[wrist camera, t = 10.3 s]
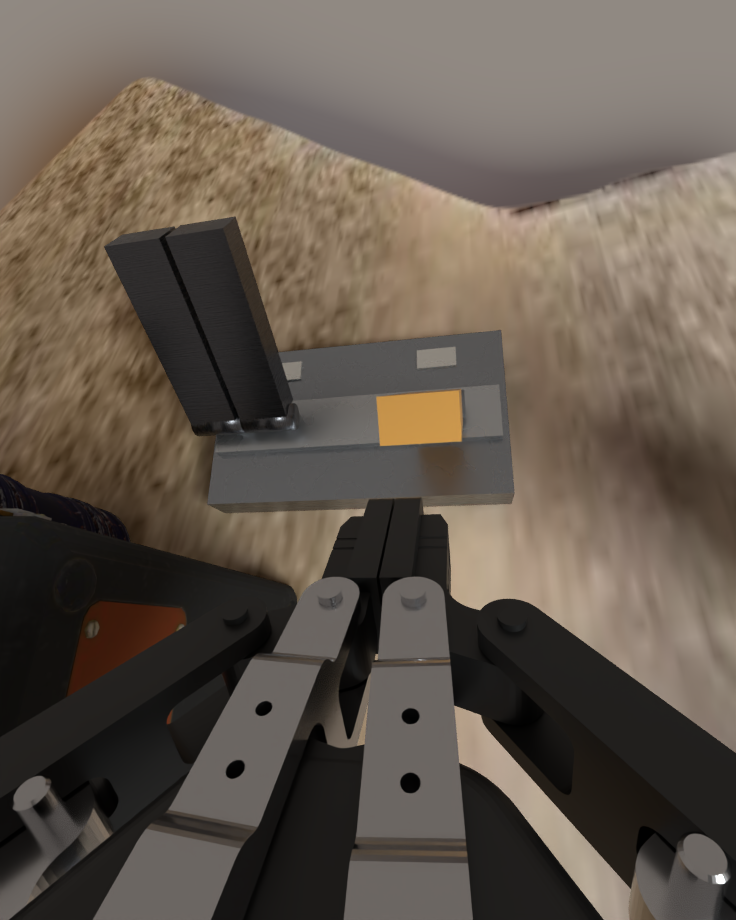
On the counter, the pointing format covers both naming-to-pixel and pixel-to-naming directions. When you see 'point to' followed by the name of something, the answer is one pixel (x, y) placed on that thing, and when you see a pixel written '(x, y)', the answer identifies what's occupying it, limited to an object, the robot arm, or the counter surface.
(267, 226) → the counter surface
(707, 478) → the counter surface
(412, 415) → the lever
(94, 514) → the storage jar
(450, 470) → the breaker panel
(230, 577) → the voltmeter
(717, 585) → the counter surface
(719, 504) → the counter surface
